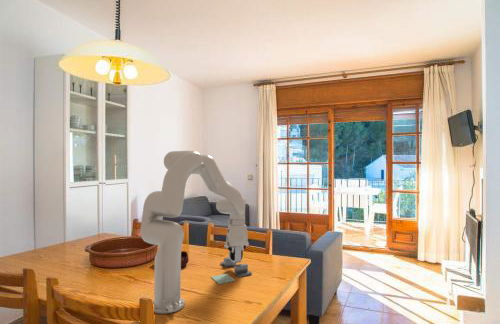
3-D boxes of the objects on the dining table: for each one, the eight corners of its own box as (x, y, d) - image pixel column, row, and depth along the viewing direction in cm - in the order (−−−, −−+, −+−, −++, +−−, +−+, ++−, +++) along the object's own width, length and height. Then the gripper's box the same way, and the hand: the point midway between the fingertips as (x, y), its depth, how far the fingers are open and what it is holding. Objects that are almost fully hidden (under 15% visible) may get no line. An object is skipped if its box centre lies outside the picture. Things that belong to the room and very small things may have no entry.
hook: (241, 262, 150) (241, 245, 150) (234, 263, 148) (235, 246, 149) (234, 258, 157) (234, 242, 157) (228, 258, 155) (228, 243, 155)
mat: (234, 280, 138) (234, 280, 138) (218, 284, 134) (218, 283, 134) (226, 274, 146) (226, 273, 146) (211, 277, 142) (211, 276, 142)
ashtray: (198, 262, 163) (198, 253, 163) (176, 272, 149) (176, 262, 149) (174, 257, 172) (174, 248, 172) (151, 265, 158) (151, 256, 158)
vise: (251, 274, 146) (251, 266, 146) (238, 277, 142) (238, 268, 142) (232, 262, 164) (232, 254, 164) (220, 264, 161) (220, 256, 161)
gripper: (225, 224, 144) (224, 263, 143) (255, 222, 152) (254, 259, 152) (218, 222, 150) (218, 259, 150) (248, 220, 159) (247, 255, 158)
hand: (236, 259), depth 151 cm, fingers closed on hook, 3 cm apart
